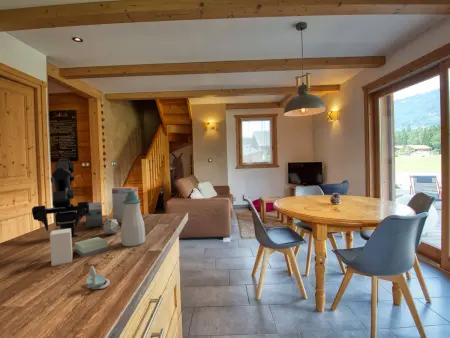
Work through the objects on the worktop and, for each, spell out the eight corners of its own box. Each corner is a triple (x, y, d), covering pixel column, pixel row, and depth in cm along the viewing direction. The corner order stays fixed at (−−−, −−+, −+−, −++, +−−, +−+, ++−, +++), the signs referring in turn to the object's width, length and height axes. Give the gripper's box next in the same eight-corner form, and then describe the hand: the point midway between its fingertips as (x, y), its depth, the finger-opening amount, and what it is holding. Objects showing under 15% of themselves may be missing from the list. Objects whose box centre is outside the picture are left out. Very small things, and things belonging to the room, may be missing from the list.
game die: (113, 242, 121) (111, 229, 115) (98, 236, 122) (95, 223, 116) (125, 229, 128) (123, 216, 122) (111, 223, 129) (109, 210, 123)
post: (53, 260, 92) (51, 230, 91) (72, 256, 95) (70, 228, 94) (51, 266, 87) (49, 234, 86) (71, 262, 89) (70, 232, 89)
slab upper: (74, 248, 99) (74, 242, 99) (98, 242, 106) (97, 236, 106) (83, 253, 94) (83, 247, 94) (107, 246, 100) (107, 241, 100)
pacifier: (108, 278, 76) (86, 283, 73) (108, 258, 76) (85, 262, 73) (111, 289, 70) (86, 294, 67) (110, 267, 70) (86, 271, 67)
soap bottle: (117, 243, 108) (115, 191, 107) (138, 238, 115) (136, 189, 114) (128, 248, 101) (125, 193, 100) (149, 242, 108) (147, 190, 107)
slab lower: (75, 253, 100) (75, 248, 100) (98, 247, 106) (98, 242, 106) (83, 259, 94) (83, 253, 94) (107, 251, 100) (107, 246, 100)
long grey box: (87, 220, 152) (86, 203, 152) (101, 219, 156) (101, 201, 155) (86, 230, 130) (85, 210, 129) (102, 228, 133) (101, 208, 133)
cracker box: (140, 222, 144) (138, 186, 143) (133, 225, 139) (131, 187, 138) (120, 221, 149) (118, 186, 148) (113, 223, 143) (111, 187, 142)
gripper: (31, 185, 93) (26, 220, 84) (87, 181, 103) (89, 212, 93) (35, 203, 101) (32, 237, 91) (88, 198, 110) (90, 228, 100)
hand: (61, 228), depth 94 cm, fingers open, 9 cm apart
